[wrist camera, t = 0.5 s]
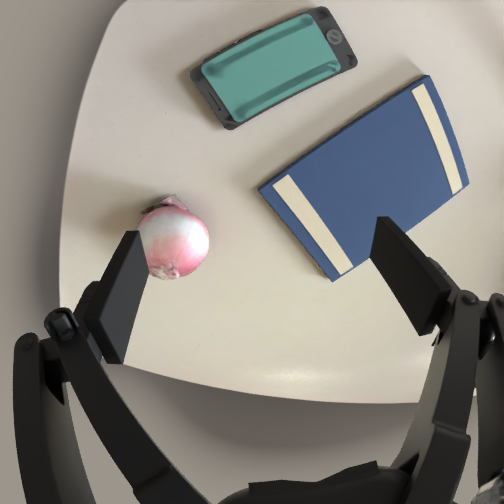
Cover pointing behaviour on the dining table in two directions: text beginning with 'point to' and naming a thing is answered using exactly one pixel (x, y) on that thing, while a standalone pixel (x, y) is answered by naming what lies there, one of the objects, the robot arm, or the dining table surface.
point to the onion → (172, 239)
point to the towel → (370, 178)
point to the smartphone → (273, 66)
